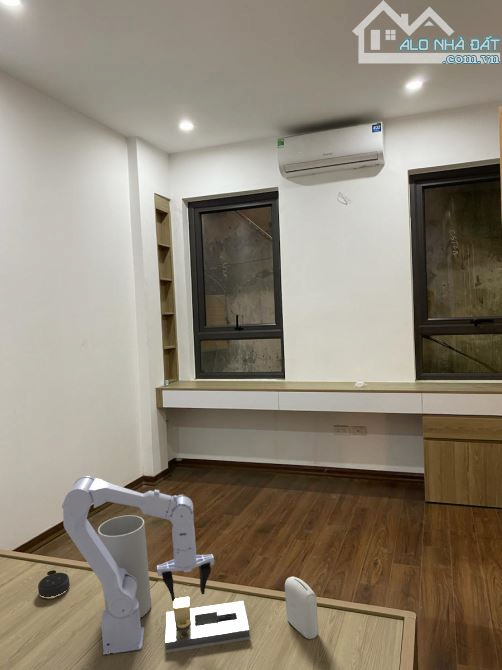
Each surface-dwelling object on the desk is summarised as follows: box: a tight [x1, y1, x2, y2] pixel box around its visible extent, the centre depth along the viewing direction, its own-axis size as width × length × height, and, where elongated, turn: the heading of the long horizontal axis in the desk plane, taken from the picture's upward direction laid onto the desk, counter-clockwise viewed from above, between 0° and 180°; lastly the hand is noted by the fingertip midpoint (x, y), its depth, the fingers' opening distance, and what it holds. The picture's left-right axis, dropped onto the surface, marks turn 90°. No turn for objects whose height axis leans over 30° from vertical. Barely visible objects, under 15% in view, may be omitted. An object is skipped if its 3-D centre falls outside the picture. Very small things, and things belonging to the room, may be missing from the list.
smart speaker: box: [37, 572, 71, 597], centre depth 150 cm, size 9×9×4 cm
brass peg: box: [173, 596, 191, 629], centre depth 127 cm, size 4×4×6 cm
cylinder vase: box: [97, 514, 152, 619], centre depth 138 cm, size 12×12×25 cm
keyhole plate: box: [164, 600, 251, 654], centre depth 128 cm, size 21×12×3 cm, turn 98°
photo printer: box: [284, 576, 319, 640], centre depth 127 cm, size 10×4×12 cm, turn 29°
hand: (187, 595), depth 127 cm, fingers open, 7 cm apart
